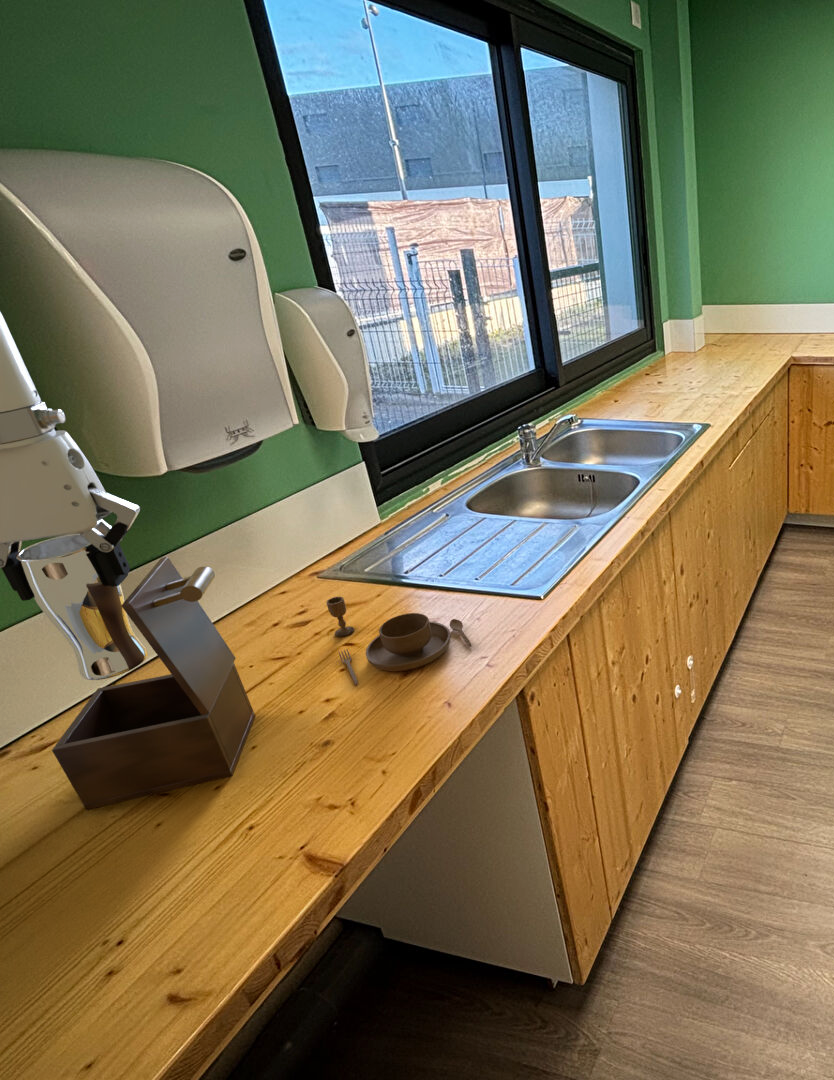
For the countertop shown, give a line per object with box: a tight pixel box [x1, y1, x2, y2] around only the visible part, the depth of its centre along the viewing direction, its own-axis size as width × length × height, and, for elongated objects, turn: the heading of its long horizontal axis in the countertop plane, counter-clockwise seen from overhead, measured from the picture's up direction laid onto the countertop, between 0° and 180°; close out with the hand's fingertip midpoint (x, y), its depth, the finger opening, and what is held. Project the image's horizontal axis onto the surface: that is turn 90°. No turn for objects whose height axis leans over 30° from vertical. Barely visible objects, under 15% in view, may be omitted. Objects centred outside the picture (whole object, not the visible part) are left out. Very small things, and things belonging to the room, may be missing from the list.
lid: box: [121, 556, 236, 715], centre depth 81 cm, size 15×12×6 cm
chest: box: [51, 662, 256, 811], centre depth 84 cm, size 15×12×9 cm
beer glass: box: [16, 533, 149, 681], centre depth 76 cm, size 7×7×15 cm
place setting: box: [325, 596, 473, 686], centre depth 108 cm, size 18×20×6 cm
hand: (77, 586), depth 75 cm, fingers closed on beer glass, 7 cm apart
